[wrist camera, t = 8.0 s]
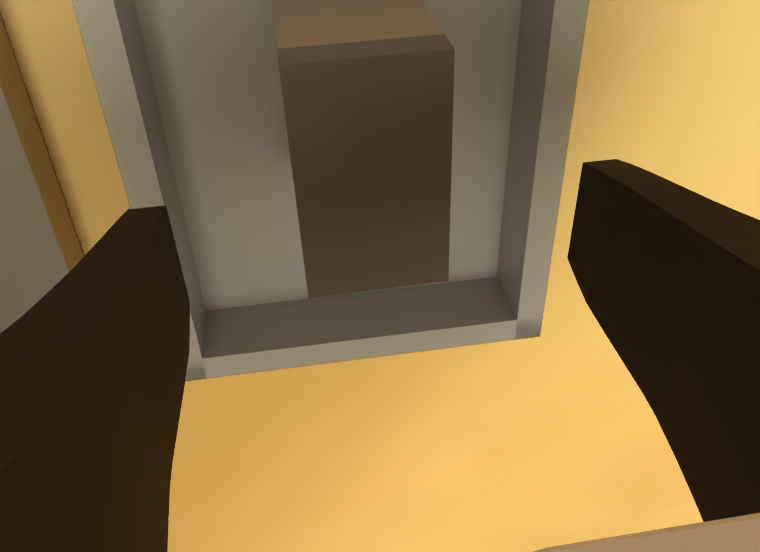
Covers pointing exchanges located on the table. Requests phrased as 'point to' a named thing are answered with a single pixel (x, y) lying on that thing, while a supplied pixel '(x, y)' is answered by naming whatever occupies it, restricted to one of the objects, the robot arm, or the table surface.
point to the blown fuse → (368, 140)
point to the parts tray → (276, 186)
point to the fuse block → (28, 202)
